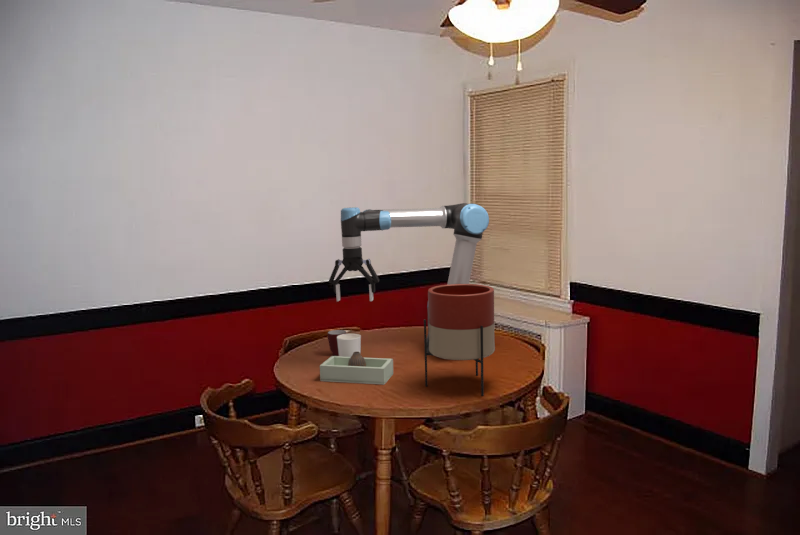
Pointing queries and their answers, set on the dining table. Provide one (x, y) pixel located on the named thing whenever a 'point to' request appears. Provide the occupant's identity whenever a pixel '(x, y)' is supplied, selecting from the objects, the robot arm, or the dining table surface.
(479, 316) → the planter
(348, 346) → the candle holder
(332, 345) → the mug
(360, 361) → the vase
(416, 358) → the dining table surface
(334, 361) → the green rectangular tray
